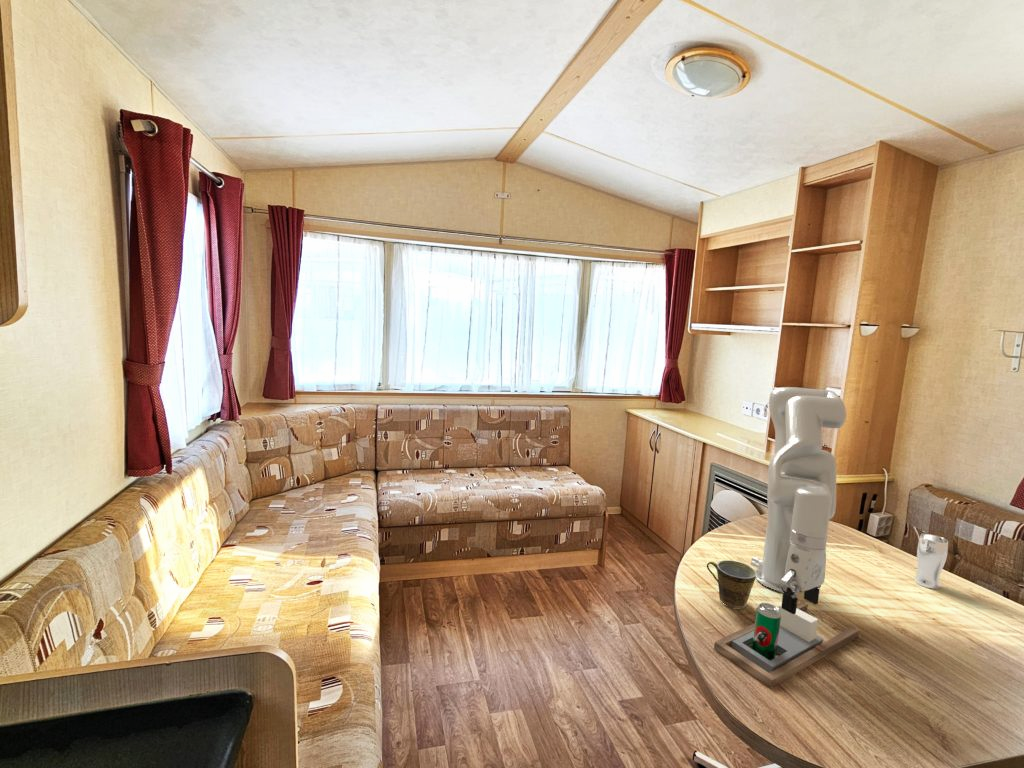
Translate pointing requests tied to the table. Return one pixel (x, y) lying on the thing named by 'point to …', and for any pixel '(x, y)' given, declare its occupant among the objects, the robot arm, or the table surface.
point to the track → (788, 668)
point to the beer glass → (930, 560)
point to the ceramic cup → (734, 582)
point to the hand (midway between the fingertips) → (799, 606)
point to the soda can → (766, 630)
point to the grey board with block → (783, 640)
